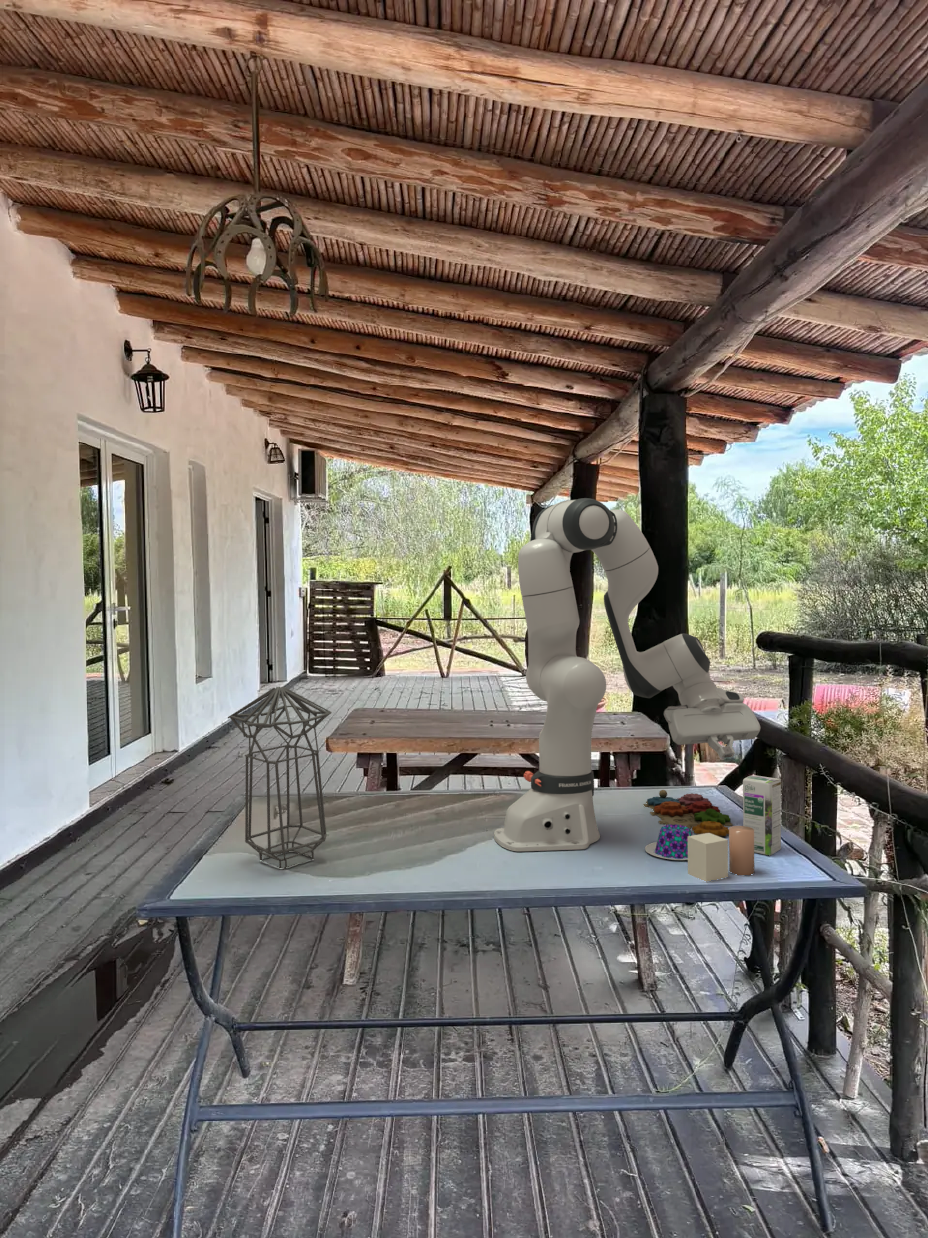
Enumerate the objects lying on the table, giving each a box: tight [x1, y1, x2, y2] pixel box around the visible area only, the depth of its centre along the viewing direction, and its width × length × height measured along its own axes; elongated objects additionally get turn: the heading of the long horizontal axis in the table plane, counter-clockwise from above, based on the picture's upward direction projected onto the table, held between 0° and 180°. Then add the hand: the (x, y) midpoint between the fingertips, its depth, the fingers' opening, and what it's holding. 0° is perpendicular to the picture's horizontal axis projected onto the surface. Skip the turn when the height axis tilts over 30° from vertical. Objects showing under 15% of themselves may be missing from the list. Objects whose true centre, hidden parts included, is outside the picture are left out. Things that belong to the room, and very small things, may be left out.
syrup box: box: [742, 774, 782, 857], centre depth 165 cm, size 6×6×14 cm
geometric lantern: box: [227, 686, 332, 868], centre depth 163 cm, size 16×16×35 cm
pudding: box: [644, 824, 693, 861], centre depth 165 cm, size 12×12×5 cm
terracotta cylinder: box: [728, 825, 755, 876], centre depth 153 cm, size 4×4×8 cm
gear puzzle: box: [642, 789, 734, 837], centre depth 188 cm, size 31×16×4 cm, turn 1°
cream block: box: [687, 833, 729, 883], centre depth 151 cm, size 5×5×7 cm
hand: (727, 756), depth 177 cm, fingers closed
